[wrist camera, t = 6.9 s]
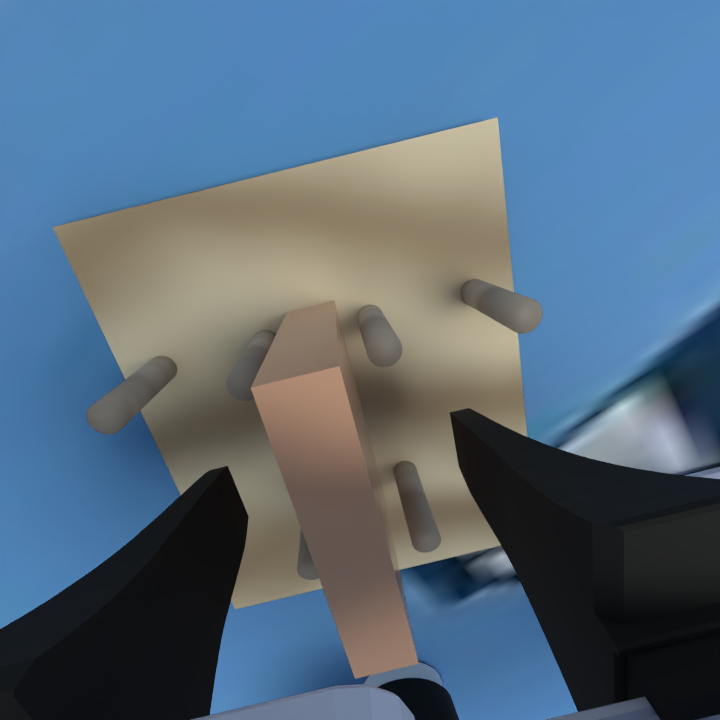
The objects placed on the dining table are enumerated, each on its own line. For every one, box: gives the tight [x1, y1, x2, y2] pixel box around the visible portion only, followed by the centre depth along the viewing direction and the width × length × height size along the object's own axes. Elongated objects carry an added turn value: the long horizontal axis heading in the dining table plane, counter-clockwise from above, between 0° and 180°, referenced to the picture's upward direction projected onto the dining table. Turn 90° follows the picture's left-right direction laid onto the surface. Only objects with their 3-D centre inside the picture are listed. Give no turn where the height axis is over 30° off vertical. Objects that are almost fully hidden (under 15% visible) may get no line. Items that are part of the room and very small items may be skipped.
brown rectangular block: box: [251, 301, 419, 679], centre depth 12 cm, size 9×2×7 cm, turn 13°
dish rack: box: [53, 118, 542, 609], centre depth 14 cm, size 18×15×5 cm
